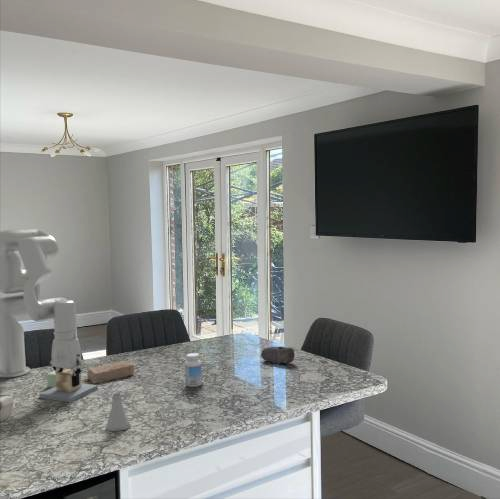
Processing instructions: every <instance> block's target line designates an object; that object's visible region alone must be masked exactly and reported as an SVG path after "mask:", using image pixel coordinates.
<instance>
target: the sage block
mask: <svg viewBox="0 0 500 499" xmlns="http://www.w3.org/2000/svg"><path fill="white" fill-rule="evenodd" d="M46 381H47V382H46V383H47V387H49V388H54V387H56V373H55V370H53V371H50V372H48V373H46Z"/></svg>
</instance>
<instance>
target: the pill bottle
mask: <svg viewBox="0 0 500 499" xmlns="http://www.w3.org/2000/svg"><path fill="white" fill-rule="evenodd" d="M185 359H186V360H185V361H184V372H185V373H184V376H185V385H186V386H187V387H190V388H195V387H196V388H197V387H199V386H201V385H202V384H203V371H202V369H203V367H202V361H201V360H200V354H199V353H197V352H194V353H193V352H192V353H187V354H186V358H185Z"/></svg>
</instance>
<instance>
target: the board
mask: <svg viewBox="0 0 500 499" xmlns="http://www.w3.org/2000/svg"><path fill="white" fill-rule="evenodd" d="M98 387H99V386H98V385H96V384H92V383H91V384H90V383H82V382H81V387H80V388H78V389H76V390H74V391H72V392H63V391H57V390H56V387H50V388H49V389H47V390H46V389H45V390H44V391H42V392H40V393H39V398H40V399H45V400H46V399H47V400H53V401H60V402H67V403H73V402H75V401H77V400H79V399H81V398H82V397H85V396H87V395H89V394H91V393H93V392H96V391H98V389H99V388H98Z"/></svg>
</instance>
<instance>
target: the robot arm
mask: <svg viewBox="0 0 500 499" xmlns="http://www.w3.org/2000/svg"><path fill="white" fill-rule="evenodd" d="M58 252H59V244H58V242H57V240H56V239H55V238H54V236H52V235H51V234H49V233H47V232H45V231H43V230H42V229H38V228H23V229H21V228H16V229H6V230H1V231H0V293H2V294H3V295H4V294H6V295H9V296H3V297H0V378H4V379H5V378H16V377H21V376H23V375H24V376H25V375H27V374H28V373H30V372H31V368H30V367H29V366H26V350H25V348H26V347H25V346H26V345H25V332H24V327H23V326H22V325H21V324H20V323H19V321H18V320H19V319H24V318H30V319H31V320H33V322H37V323H39V322H44V321H48V320H49V321H50V320H53V329H54V331H53V332H52V333H53V335H54V338H53V339H52V345H51V360H50V361H49V364H50V365H51V367H52V369H53V371H55V373H56V374H57V373H59V372H62V371H64V370H65V369H71V371H72V374H73V376H72V387H75V386H78V385H79V384H80V382H79V374H80V373H81V374H82V371H83V370H84V369H85V368H86V366H87V365H86V363H85V362H84V361H83V360H82V351H81V344H80V340H79V338H78V330H77V329H78V327H77V311H76V310H77V307H76V302H75V301H74V300H72V299H68V298H64V297H63V296H62V297H60V296H58V297H52V298H45V299H41V283H42V282H44V281H45V280H47V279H49V277H51V275H52V273H53V269H52V266H51V264H50V262H49V259H48V258H54V257H56V256H57V255H58ZM22 265H23V266H24V268H22ZM18 293H23V294H18ZM10 294H16V295H10ZM75 370H76V371H75Z"/></svg>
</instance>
